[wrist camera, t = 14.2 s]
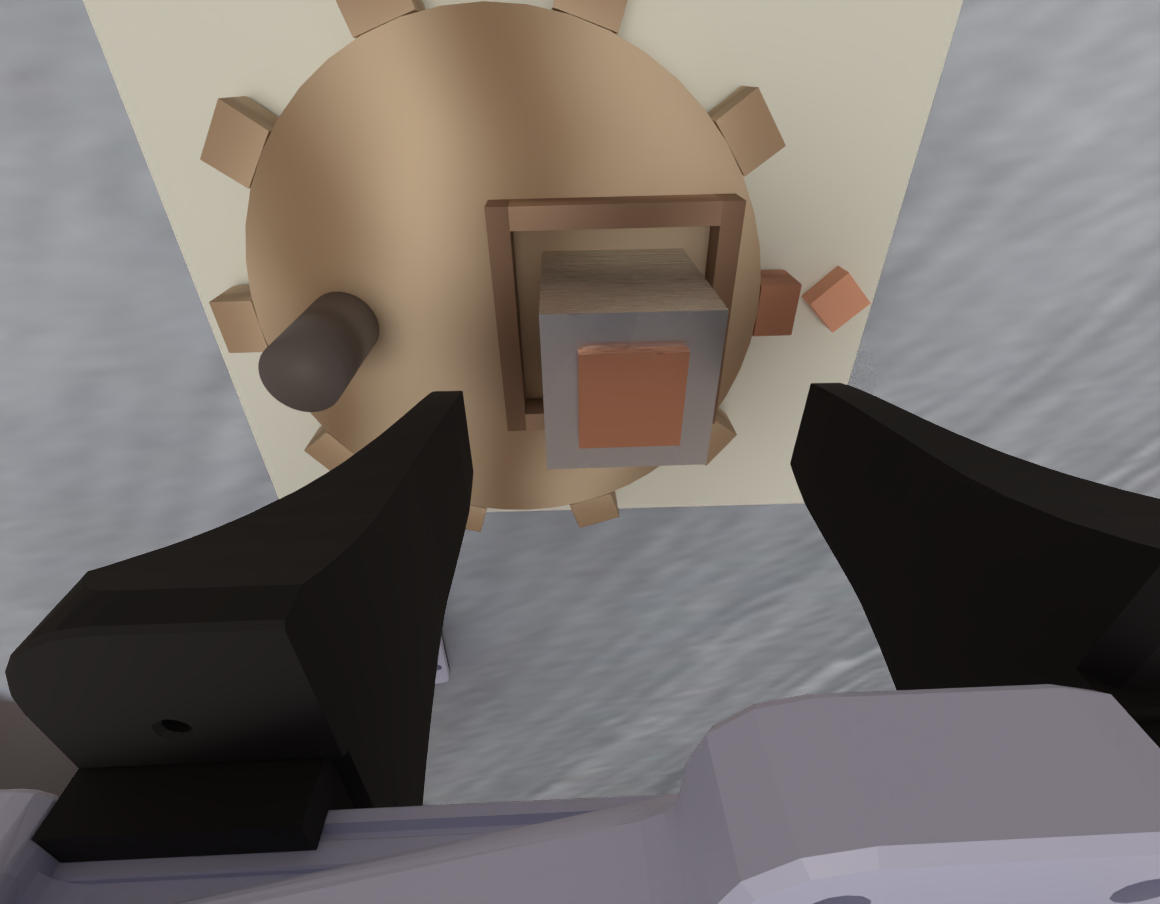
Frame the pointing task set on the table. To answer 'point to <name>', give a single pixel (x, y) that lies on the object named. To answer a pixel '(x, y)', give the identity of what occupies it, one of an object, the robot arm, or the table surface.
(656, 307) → the copper-capped metal cube
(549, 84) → the sprocket disc
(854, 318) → the index plate
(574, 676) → the table surface
